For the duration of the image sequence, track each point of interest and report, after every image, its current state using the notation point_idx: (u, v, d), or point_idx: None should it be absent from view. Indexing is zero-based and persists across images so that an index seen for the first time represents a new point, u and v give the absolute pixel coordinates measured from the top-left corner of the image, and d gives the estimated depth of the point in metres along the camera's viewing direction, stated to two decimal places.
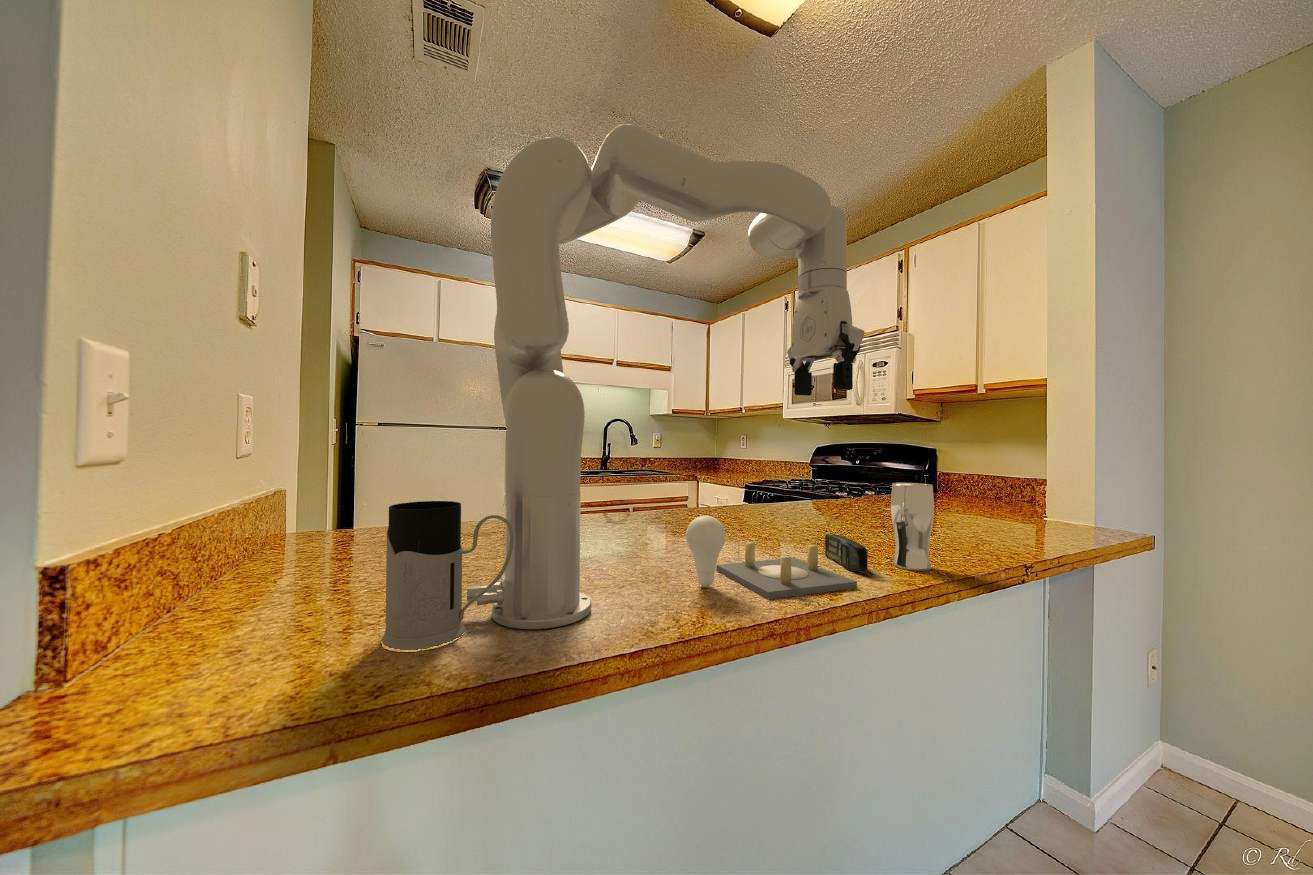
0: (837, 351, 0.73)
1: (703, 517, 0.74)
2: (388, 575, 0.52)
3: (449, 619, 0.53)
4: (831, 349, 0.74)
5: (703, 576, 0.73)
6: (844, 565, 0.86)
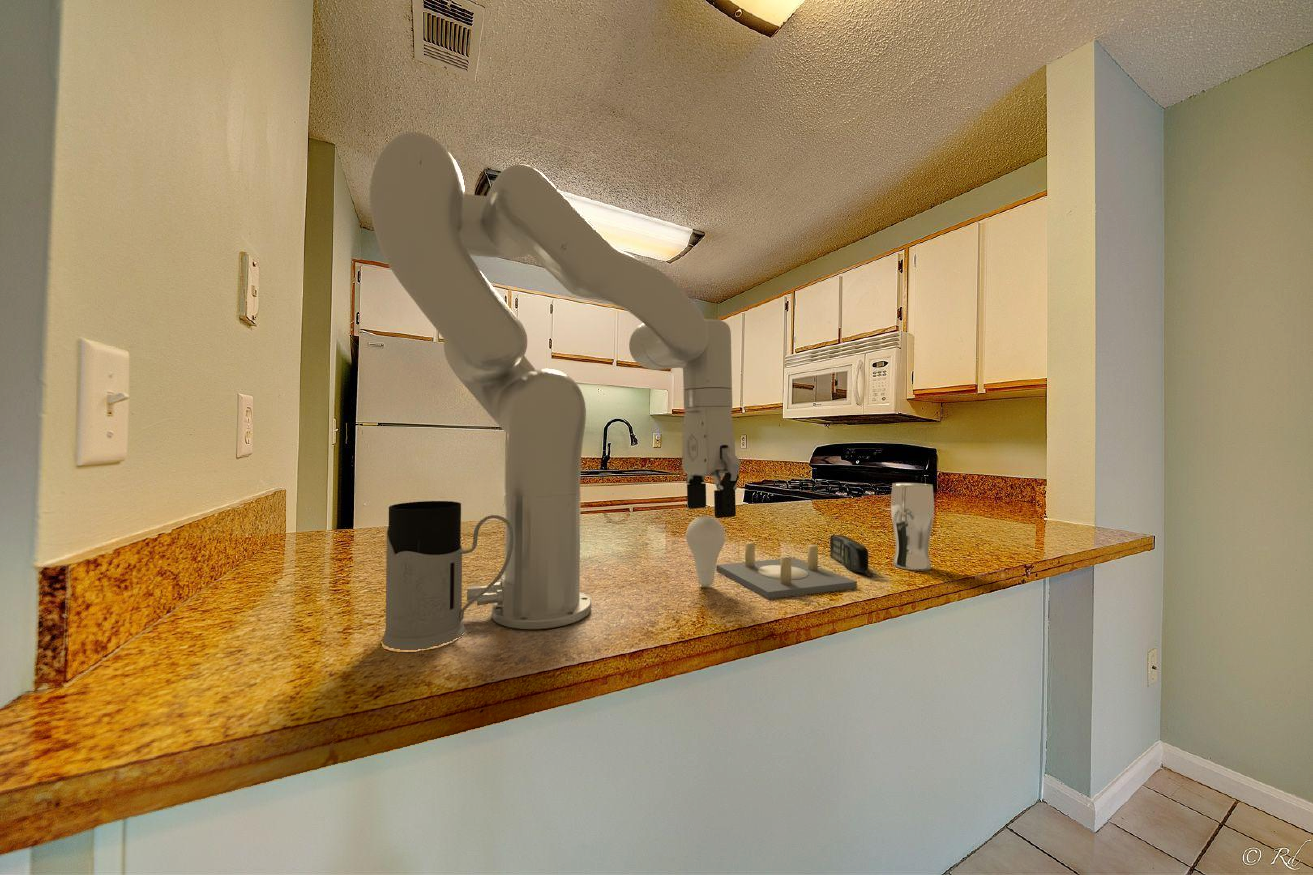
0: (717, 478, 0.69)
1: (703, 517, 0.74)
2: (388, 575, 0.52)
3: (449, 619, 0.53)
4: (712, 474, 0.70)
5: (703, 576, 0.73)
6: (846, 566, 0.86)
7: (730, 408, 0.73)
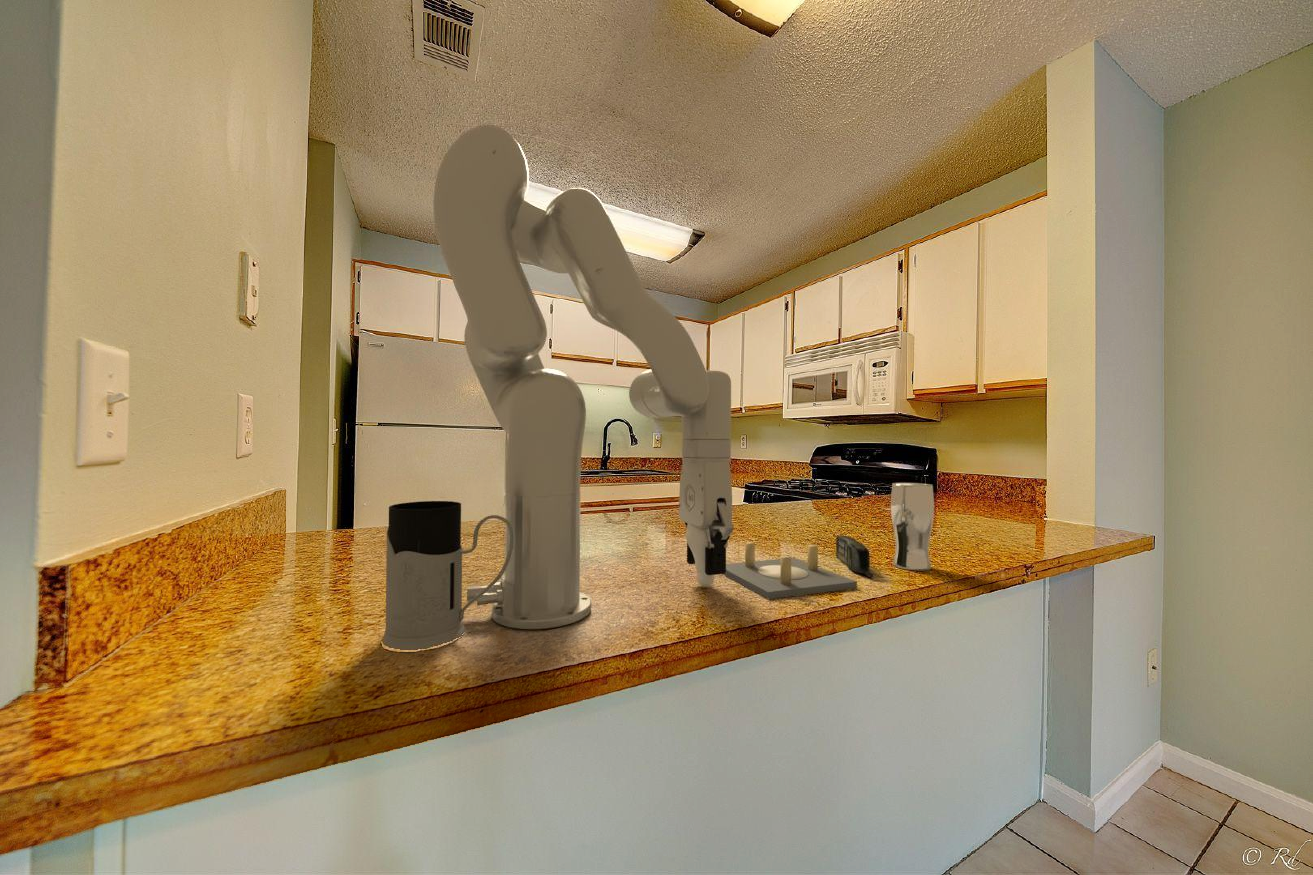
0: (709, 536, 0.70)
1: None
2: (388, 575, 0.52)
3: (449, 619, 0.53)
4: (706, 528, 0.71)
5: (703, 576, 0.73)
6: (848, 566, 0.85)
7: (728, 459, 0.72)
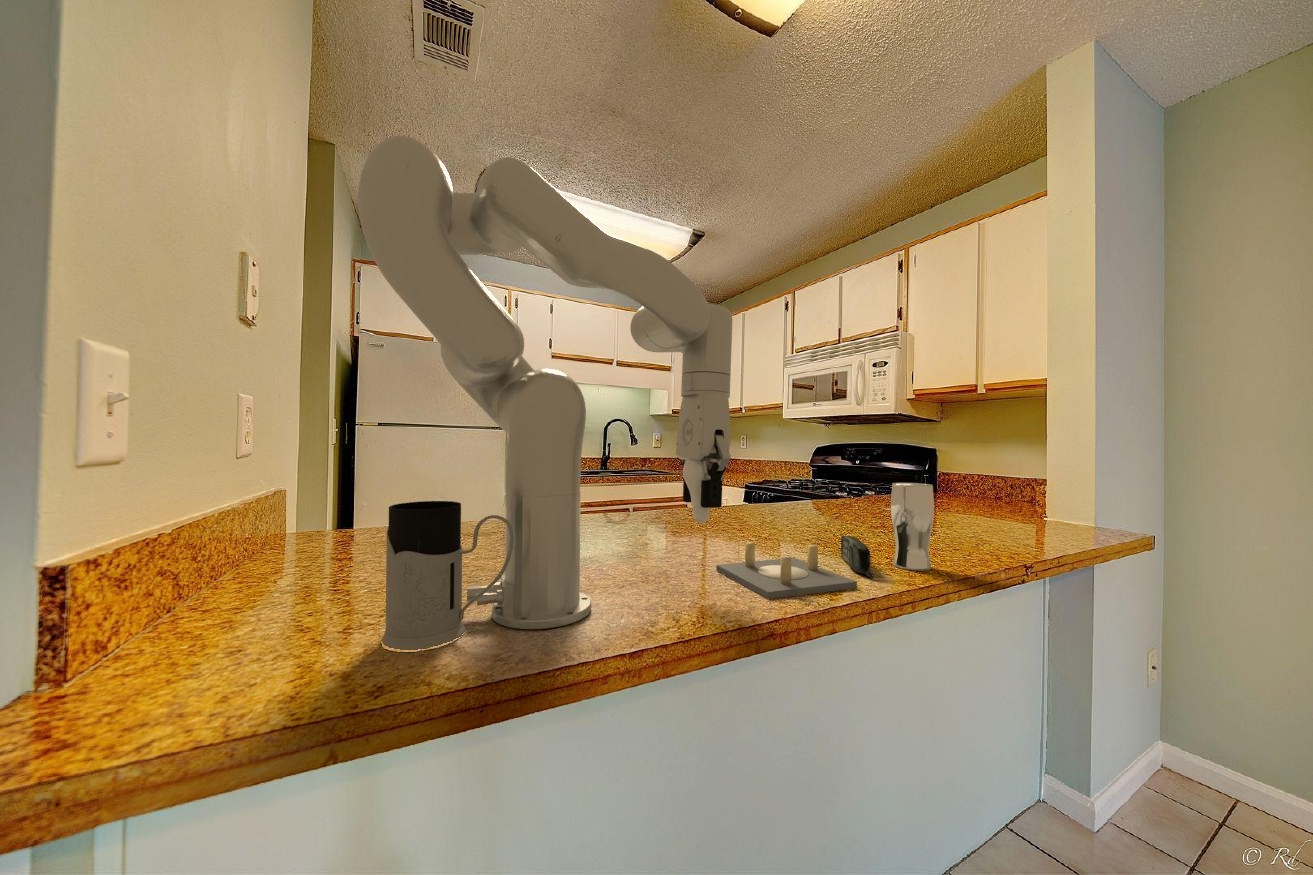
0: (706, 468, 0.70)
1: None
2: (388, 575, 0.52)
3: (449, 619, 0.53)
4: (703, 461, 0.71)
5: (698, 511, 0.73)
6: (850, 566, 0.85)
7: (727, 394, 0.72)
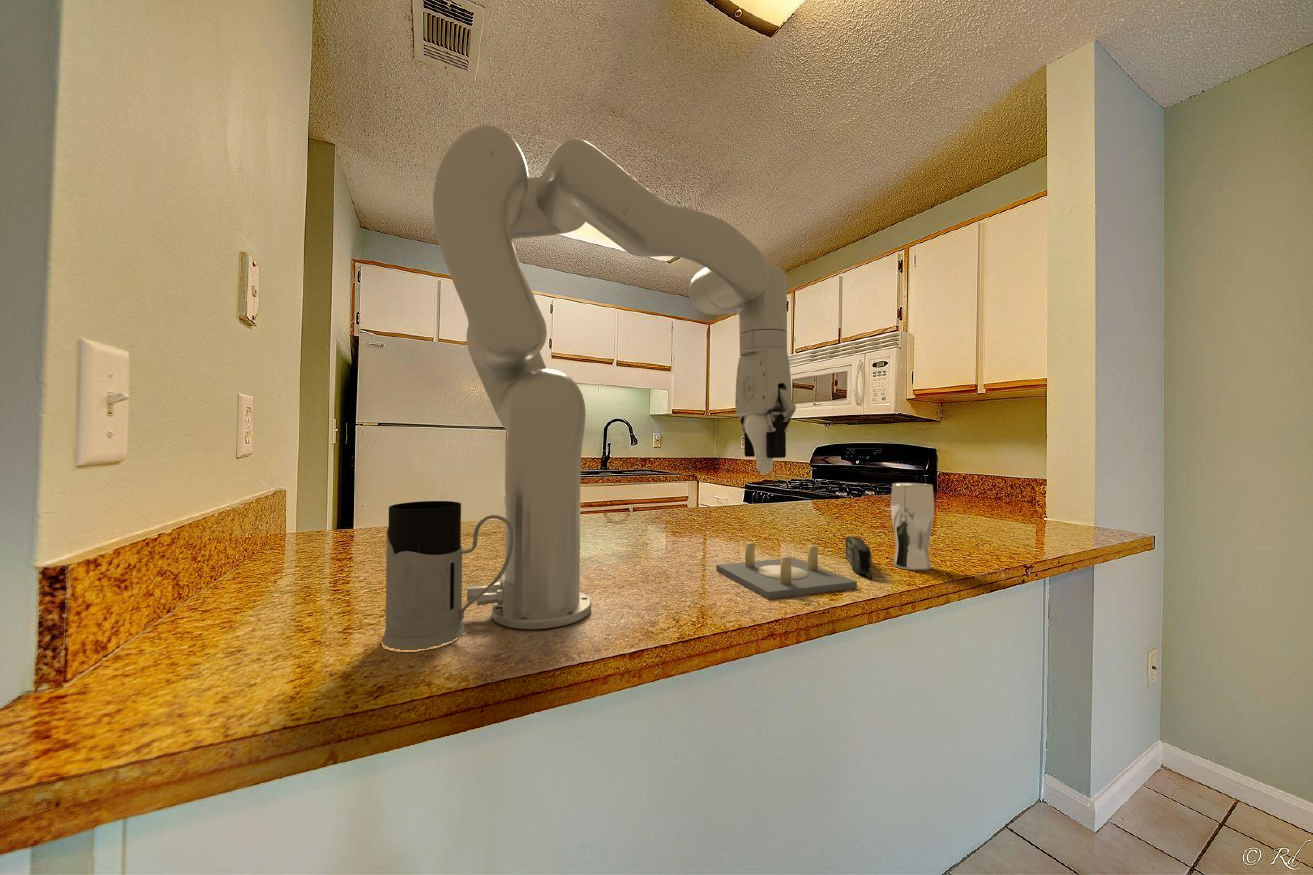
0: (771, 420, 0.74)
1: None
2: (388, 575, 0.52)
3: (449, 619, 0.53)
4: (766, 414, 0.75)
5: (763, 463, 0.77)
6: (852, 567, 0.85)
7: (786, 350, 0.76)
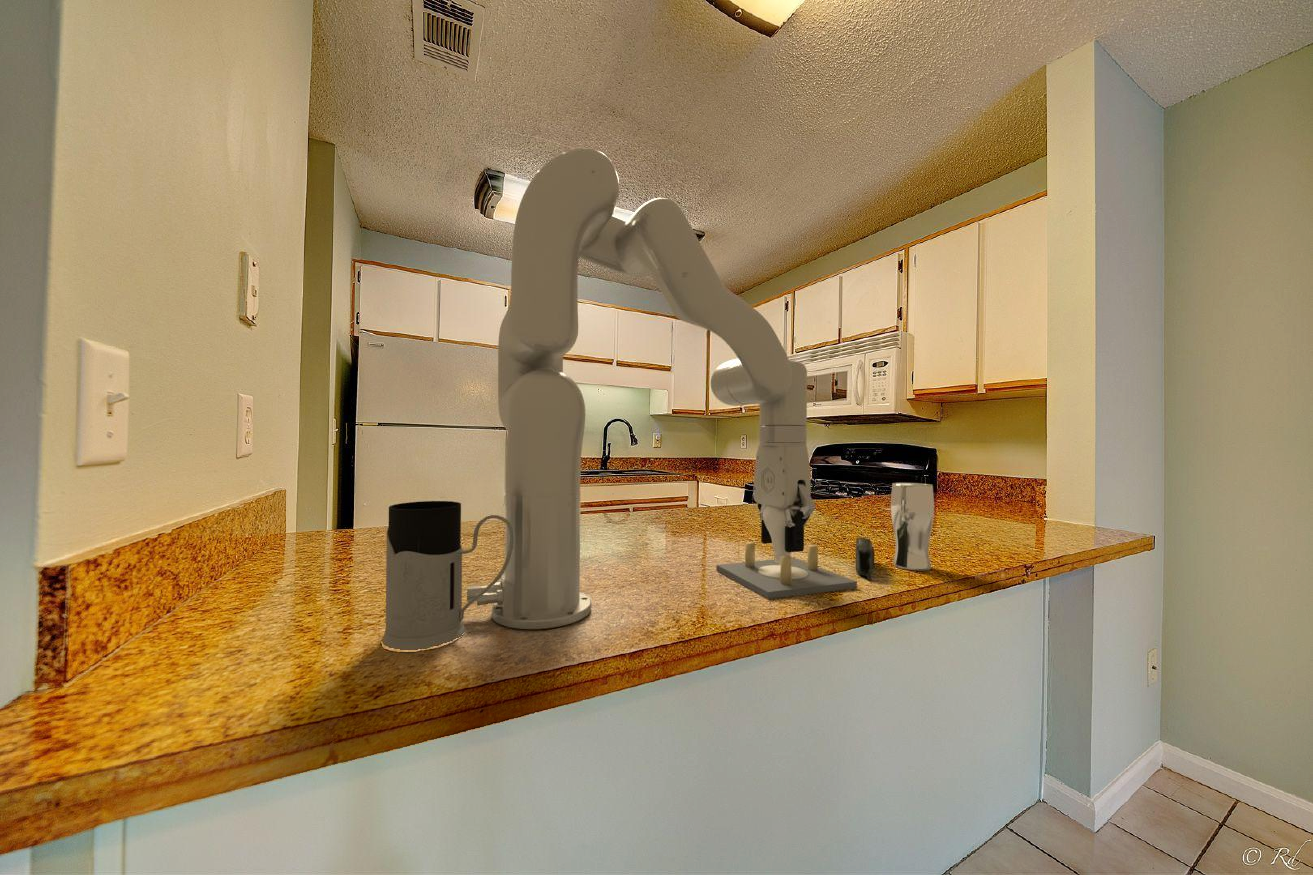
0: (790, 515, 0.75)
1: None
2: (388, 575, 0.52)
3: (449, 619, 0.53)
4: (785, 508, 0.76)
5: (781, 555, 0.78)
6: None
7: (805, 444, 0.77)
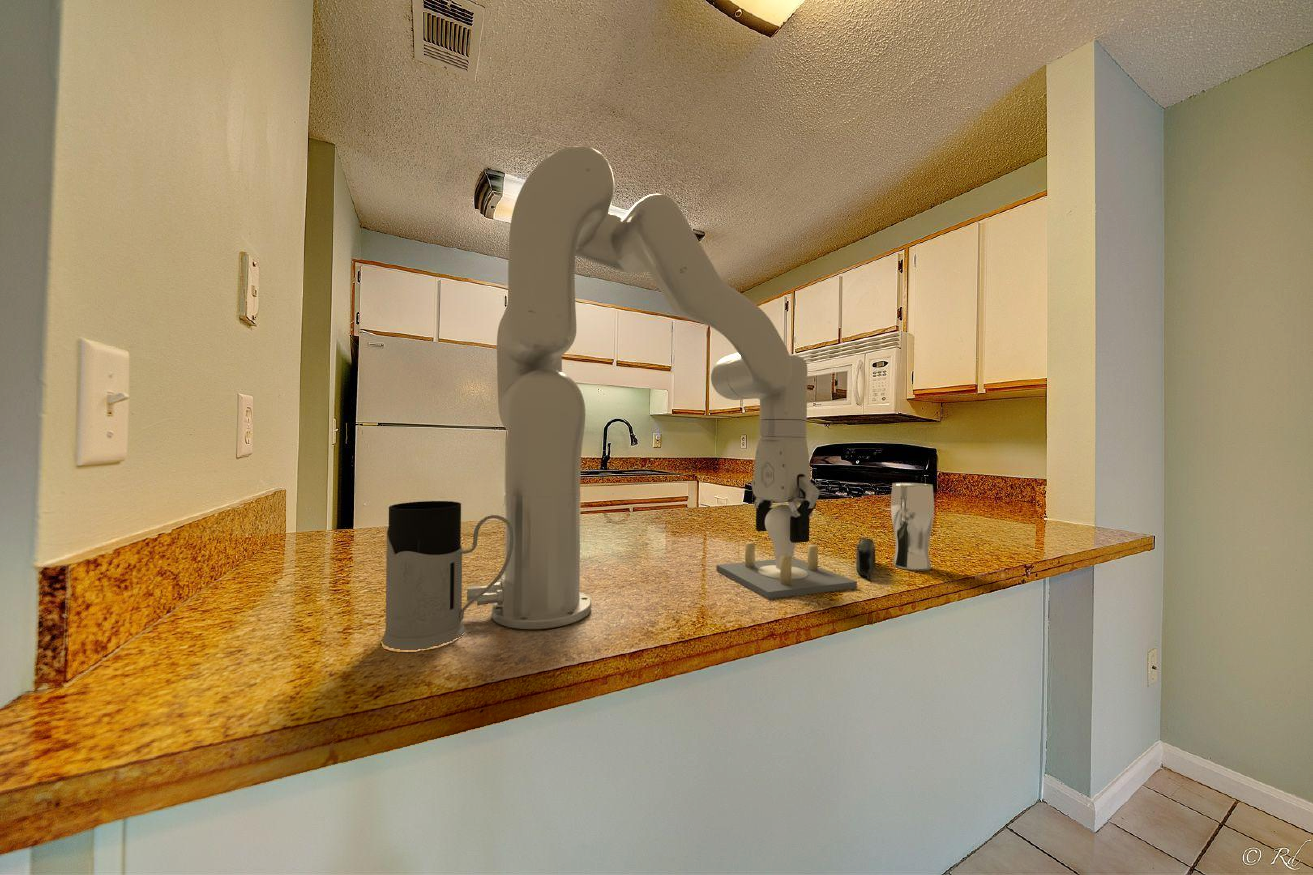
0: (794, 505, 0.74)
1: (782, 506, 0.78)
2: (388, 575, 0.52)
3: (449, 619, 0.53)
4: (788, 500, 0.75)
5: None
6: None
7: (805, 439, 0.77)
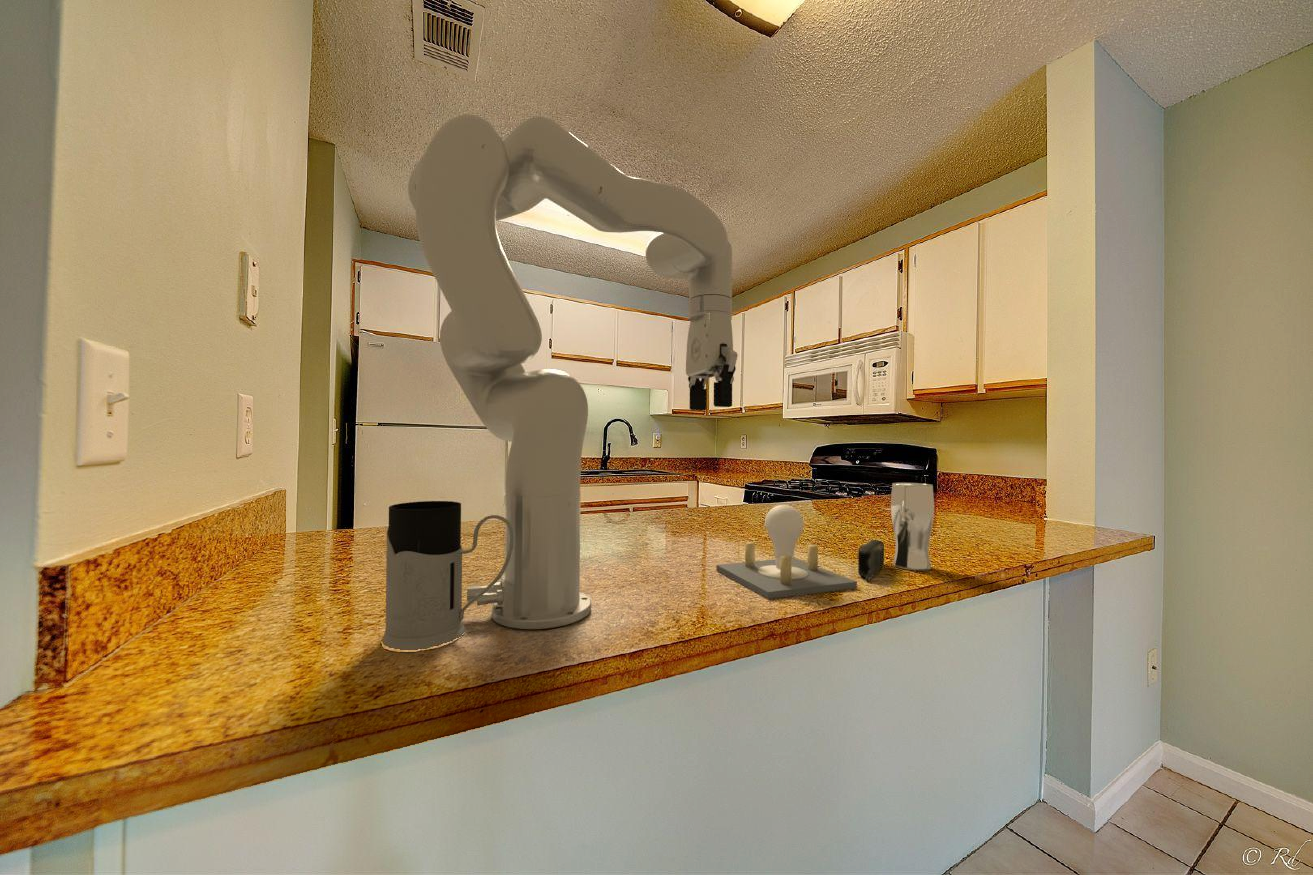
0: (716, 371, 0.79)
1: (782, 506, 0.78)
2: (388, 575, 0.52)
3: (449, 619, 0.53)
4: (713, 369, 0.81)
5: None
6: None
7: (730, 315, 0.83)
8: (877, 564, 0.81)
